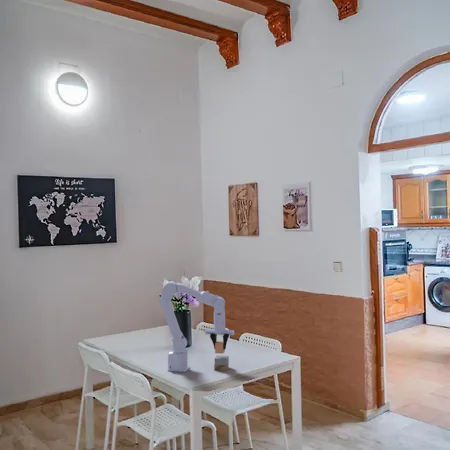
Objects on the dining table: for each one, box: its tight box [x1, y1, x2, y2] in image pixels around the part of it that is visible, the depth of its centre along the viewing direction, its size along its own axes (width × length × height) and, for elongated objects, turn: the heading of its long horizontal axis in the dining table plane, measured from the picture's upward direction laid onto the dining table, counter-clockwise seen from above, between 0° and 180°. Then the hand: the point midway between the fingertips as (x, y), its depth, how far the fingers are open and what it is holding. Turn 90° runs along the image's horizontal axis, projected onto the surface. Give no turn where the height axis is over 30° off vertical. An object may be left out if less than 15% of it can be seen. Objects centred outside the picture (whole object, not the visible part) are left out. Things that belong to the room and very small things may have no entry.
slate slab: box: [214, 355, 230, 365], centre depth 243 cm, size 6×6×3 cm
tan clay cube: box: [214, 340, 226, 355], centre depth 242 cm, size 4×4×5 cm
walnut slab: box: [213, 361, 230, 372], centre depth 243 cm, size 6×6×3 cm
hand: (220, 348), depth 242 cm, fingers closed on tan clay cube, 4 cm apart
